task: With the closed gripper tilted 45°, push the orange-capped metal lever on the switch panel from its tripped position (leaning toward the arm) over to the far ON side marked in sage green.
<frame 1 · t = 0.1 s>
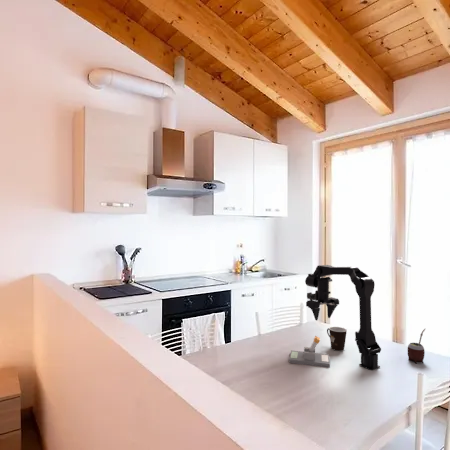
hand: (322, 319, 183), 15 cm above the table, tool pointing down, fingers open, 9 cm apart
switch panel: (309, 359, 166), on the table
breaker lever: (313, 346, 165), point 6 cm above the table, hinge at -25.0°
mate gourd: (416, 361, 166), on the table
coffee mug: (336, 347, 182), on the table
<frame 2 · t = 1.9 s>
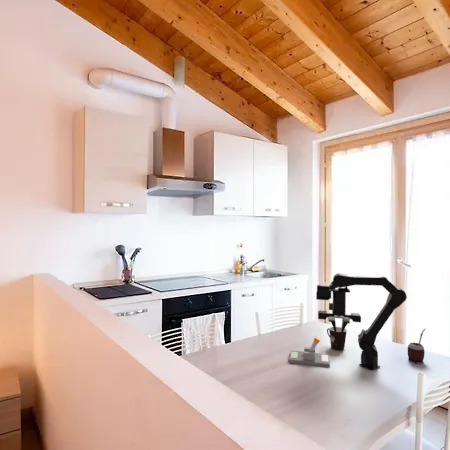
hand: (338, 334, 163), 13 cm above the table, tool pointing down, fingers closed
nothing on the table moved.
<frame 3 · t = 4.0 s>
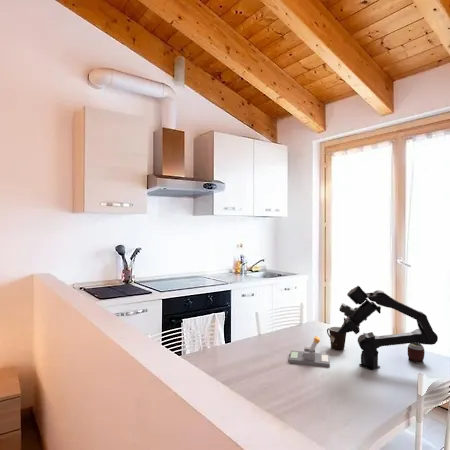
hand: (337, 333, 163), 14 cm above the table, tool tilted 45°, fingers closed
nothing on the table moved.
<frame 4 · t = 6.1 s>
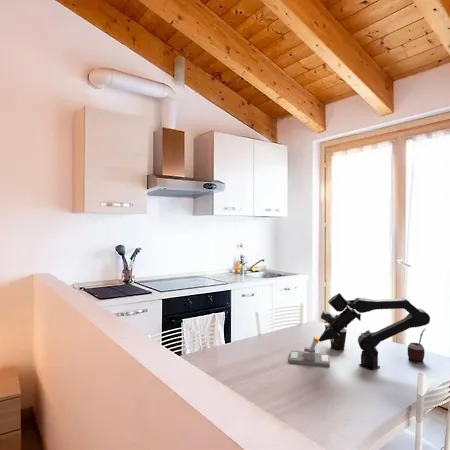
hand: (319, 340, 164), 10 cm above the table, tool tilted 45°, fingers closed, pressing on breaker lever
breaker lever: (312, 346, 165), point 6 cm above the table, hinge at -22.4°, touching gripper
everything else where it was.
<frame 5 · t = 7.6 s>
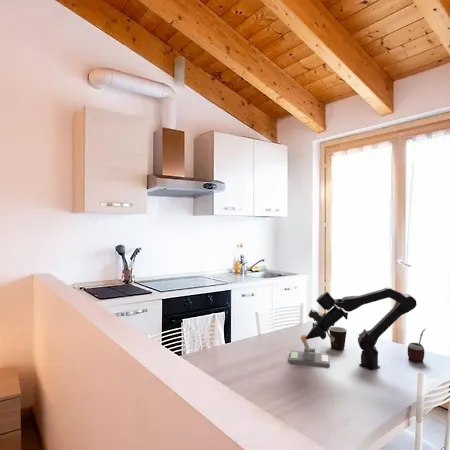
hand: (306, 338, 166), 10 cm above the table, tool tilted 45°, fingers closed, pressing on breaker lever
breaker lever: (306, 345, 166), point 6 cm above the table, hinge at 21.1°, touching gripper
everything else where it was.
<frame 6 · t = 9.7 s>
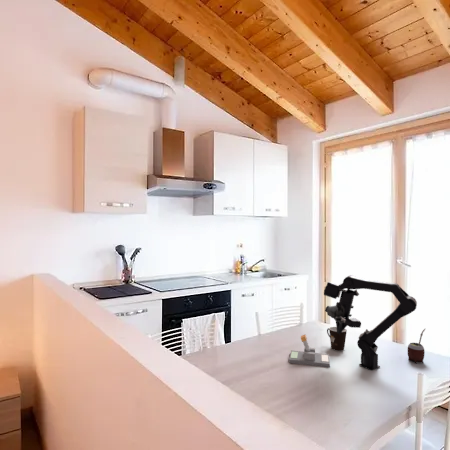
hand: (338, 333, 166), 13 cm above the table, tool pointing down, fingers closed
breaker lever: (306, 345, 166), point 6 cm above the table, hinge at 21.2°
everything else where it was.
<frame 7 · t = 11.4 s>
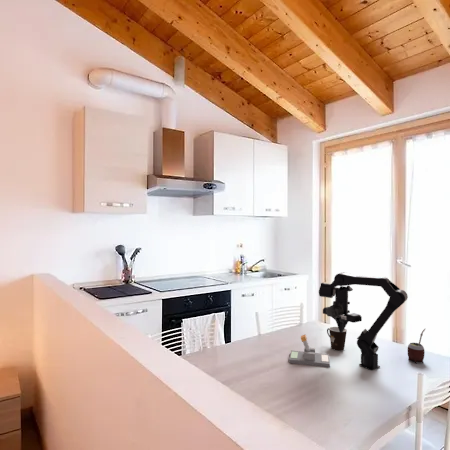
hand: (341, 332, 166), 13 cm above the table, tool pointing down, fingers closed
nothing on the table moved.
at the end: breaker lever at +21° (first picture: -25°) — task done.
